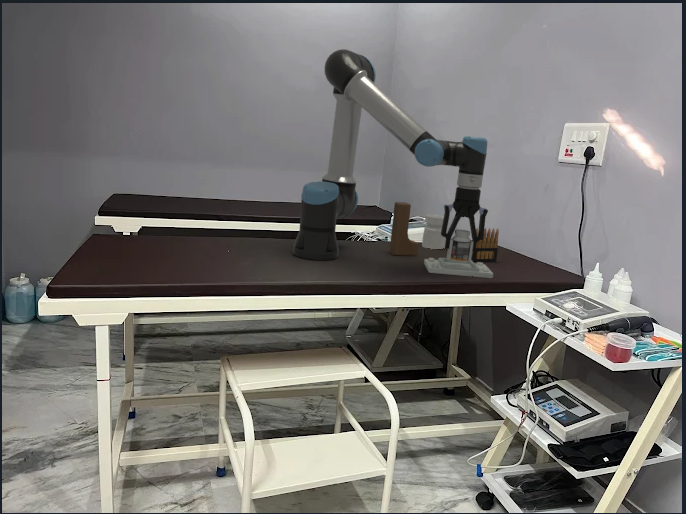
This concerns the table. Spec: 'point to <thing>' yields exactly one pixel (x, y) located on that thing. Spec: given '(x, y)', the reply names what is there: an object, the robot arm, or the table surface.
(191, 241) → the table surface
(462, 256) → the pill bottle
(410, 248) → the wooden block
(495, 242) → the ammunition clip
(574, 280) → the table surface
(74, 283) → the table surface
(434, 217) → the white lidded jar
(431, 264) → the base plate
